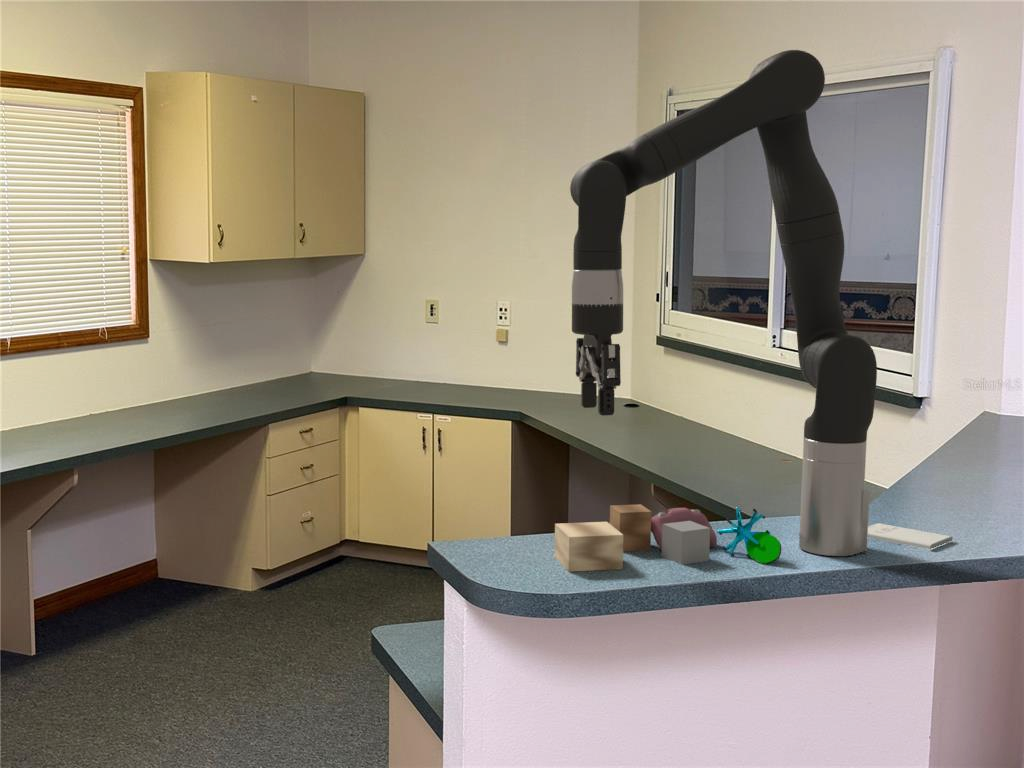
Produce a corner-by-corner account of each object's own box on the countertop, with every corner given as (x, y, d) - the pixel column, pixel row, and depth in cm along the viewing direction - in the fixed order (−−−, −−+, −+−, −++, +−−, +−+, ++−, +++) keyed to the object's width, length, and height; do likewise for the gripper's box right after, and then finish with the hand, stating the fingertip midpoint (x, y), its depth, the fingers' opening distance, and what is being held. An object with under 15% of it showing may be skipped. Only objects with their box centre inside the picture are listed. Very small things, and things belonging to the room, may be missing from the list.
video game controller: (706, 552, 175) (697, 508, 177) (721, 545, 171) (711, 501, 173) (651, 557, 171) (642, 513, 173) (664, 551, 167) (655, 506, 169)
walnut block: (639, 541, 174) (640, 504, 174) (650, 550, 170) (651, 511, 169) (609, 543, 173) (610, 505, 173) (619, 551, 168) (619, 512, 168)
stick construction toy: (705, 535, 170) (737, 495, 170) (728, 553, 174) (759, 514, 174) (756, 575, 161) (790, 533, 161) (779, 594, 165) (812, 553, 165)
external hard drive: (929, 555, 171) (855, 539, 179) (952, 545, 177) (878, 531, 185) (930, 544, 171) (855, 529, 179) (952, 535, 176) (879, 521, 185)
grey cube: (688, 553, 168) (689, 520, 168) (708, 561, 164) (710, 528, 163) (661, 556, 166) (662, 524, 165) (681, 565, 162) (682, 531, 161)
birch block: (606, 554, 166) (606, 521, 166) (622, 568, 159) (623, 534, 158) (554, 556, 165) (555, 523, 164) (568, 571, 157) (569, 537, 156)
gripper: (638, 302, 156) (637, 417, 158) (607, 298, 170) (606, 404, 172) (586, 303, 154) (586, 419, 156) (559, 299, 168) (559, 405, 170)
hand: (597, 411), depth 164 cm, fingers open, 8 cm apart
